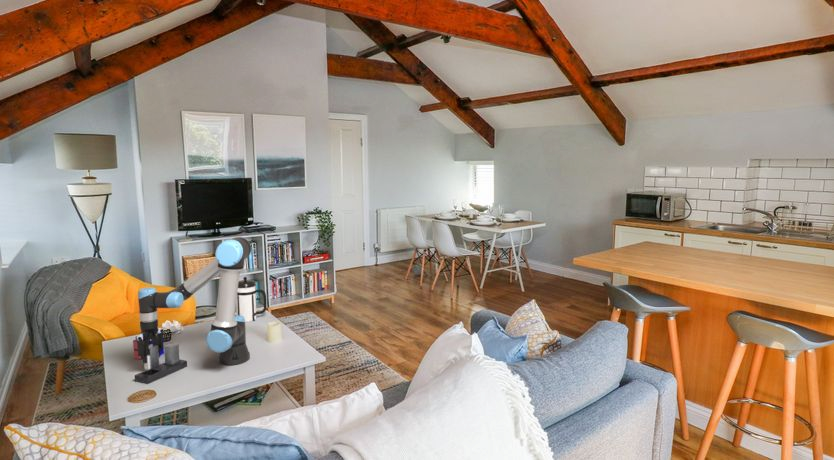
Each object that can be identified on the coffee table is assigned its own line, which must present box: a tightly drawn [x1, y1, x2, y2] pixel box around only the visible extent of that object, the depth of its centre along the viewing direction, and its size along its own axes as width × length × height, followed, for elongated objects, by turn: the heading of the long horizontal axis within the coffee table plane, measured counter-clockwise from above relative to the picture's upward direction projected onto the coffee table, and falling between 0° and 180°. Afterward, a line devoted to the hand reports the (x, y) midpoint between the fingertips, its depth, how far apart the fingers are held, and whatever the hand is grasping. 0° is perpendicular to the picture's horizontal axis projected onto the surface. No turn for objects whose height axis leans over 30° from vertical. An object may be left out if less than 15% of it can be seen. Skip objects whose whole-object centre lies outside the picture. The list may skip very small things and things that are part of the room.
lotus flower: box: [158, 319, 185, 335], centre depth 284 cm, size 14×15×9 cm
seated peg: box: [164, 343, 180, 366], centre depth 231 cm, size 4×4×12 cm
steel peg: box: [144, 344, 160, 371], centre depth 230 cm, size 4×4×12 cm
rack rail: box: [134, 358, 188, 385], centre depth 226 cm, size 8×22×3 cm, turn 158°
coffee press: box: [235, 276, 267, 323], centre depth 307 cm, size 17×16×30 cm
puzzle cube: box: [132, 337, 165, 360], centre depth 248 cm, size 10×10×10 cm
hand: (152, 366), depth 230 cm, fingers closed on steel peg, 4 cm apart
